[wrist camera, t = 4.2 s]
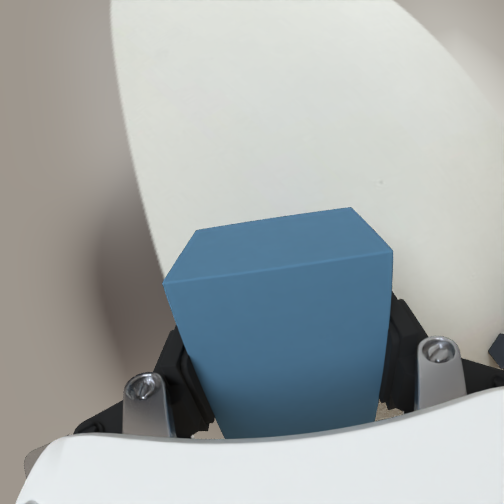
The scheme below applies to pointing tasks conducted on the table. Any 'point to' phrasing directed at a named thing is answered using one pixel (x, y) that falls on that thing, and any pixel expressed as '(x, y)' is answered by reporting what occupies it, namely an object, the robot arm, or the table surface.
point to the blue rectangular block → (286, 321)
